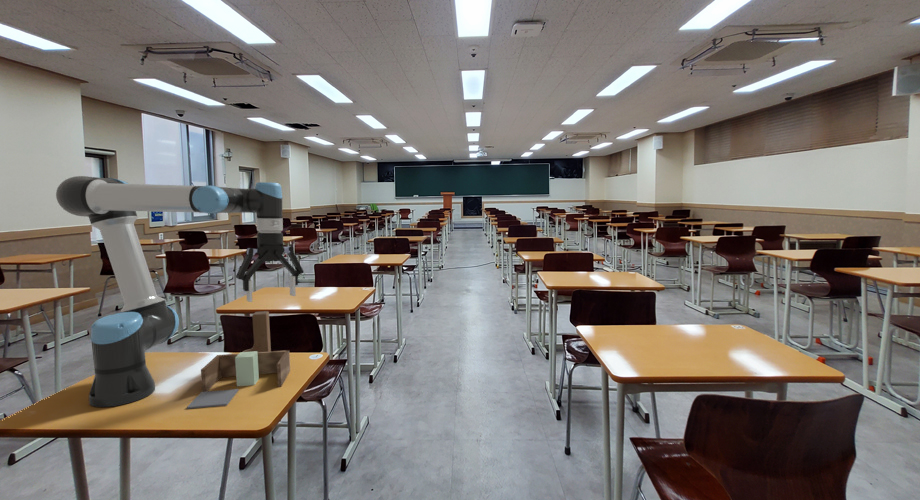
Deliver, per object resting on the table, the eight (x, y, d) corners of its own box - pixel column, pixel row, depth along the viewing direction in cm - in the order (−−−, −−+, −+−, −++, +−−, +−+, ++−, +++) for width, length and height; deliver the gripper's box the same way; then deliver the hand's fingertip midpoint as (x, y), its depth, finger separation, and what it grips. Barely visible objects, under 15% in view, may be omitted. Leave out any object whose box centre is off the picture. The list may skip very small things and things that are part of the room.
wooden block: (240, 367, 147) (237, 315, 146) (244, 362, 152) (241, 312, 150) (269, 364, 150) (266, 313, 148) (271, 360, 154) (268, 310, 152)
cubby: (202, 392, 127) (200, 369, 126) (218, 376, 140) (217, 355, 139) (281, 386, 131) (280, 364, 130) (290, 370, 144) (289, 350, 143)
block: (236, 386, 131) (235, 357, 131) (242, 380, 136) (240, 352, 136) (254, 384, 132) (252, 356, 132) (258, 378, 137) (257, 351, 136)
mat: (186, 408, 117) (186, 407, 117) (201, 393, 127) (201, 391, 126) (226, 405, 119) (226, 403, 118) (238, 390, 128) (238, 388, 128)
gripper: (231, 233, 125) (233, 305, 127) (313, 231, 142) (314, 294, 144) (223, 232, 130) (225, 301, 132) (302, 230, 148) (304, 291, 150)
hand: (271, 298), depth 138 cm, fingers open, 13 cm apart
